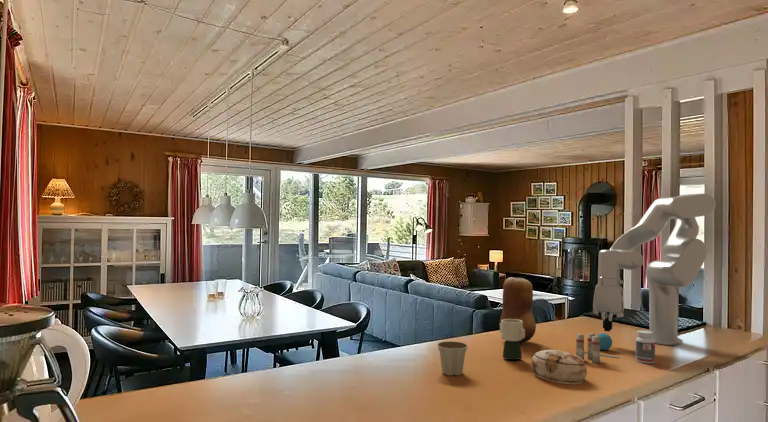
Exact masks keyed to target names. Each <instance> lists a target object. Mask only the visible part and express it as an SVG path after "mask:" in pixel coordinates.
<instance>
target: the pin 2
mask: <svg viewBox="0 0 768 422" xmlns="http://www.w3.org/2000/svg"><path fill="white" fill-rule="evenodd" d="M600 352H601V349H600V337H598V336H596V335H595V336H592V360H591V363H592V364H595V365H597V364H598V365H599V364H600V363H601V355H600V354H601V353H600Z"/></svg>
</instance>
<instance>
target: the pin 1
mask: <svg viewBox="0 0 768 422" xmlns="http://www.w3.org/2000/svg"><path fill="white" fill-rule="evenodd" d="M575 337H576V338H575V347H576V348H575V349H576V354H575V355H576V356H578V357H580V358H581V359H583V360H584V361H585V353H584V352H585V335H584V334H583V333H576V335H575Z"/></svg>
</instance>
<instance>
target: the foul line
mask: <svg viewBox="0 0 768 422" xmlns="http://www.w3.org/2000/svg"><path fill="white" fill-rule="evenodd" d="M584 354H588V351H584ZM601 356H602V357H606V358H607V357H608V358H614V359H620V356H615V355H609V354H608V355H607V354H602V353H600V357H601Z"/></svg>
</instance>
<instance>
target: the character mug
mask: <svg viewBox="0 0 768 422" xmlns="http://www.w3.org/2000/svg"><path fill="white" fill-rule="evenodd" d="M499 332H500V335H501V339H502V340H504V343H503V350H502V351H503V352H502V357H503V358H504V359H506V360H515V361H517V360H521V359H522V355H523V354H522V348H521V344H520V343H519V341H520V340H522V338H525V329H523V321H522V320H518V319H503V320H501V324H500V325H499Z"/></svg>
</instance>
